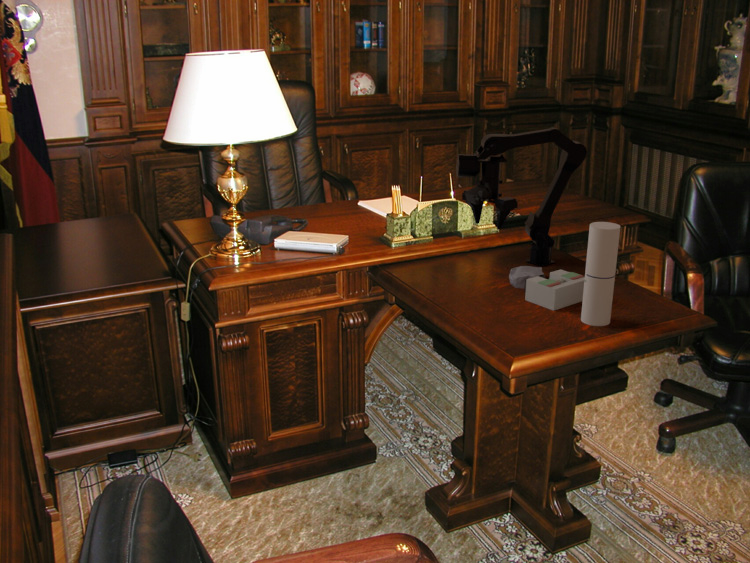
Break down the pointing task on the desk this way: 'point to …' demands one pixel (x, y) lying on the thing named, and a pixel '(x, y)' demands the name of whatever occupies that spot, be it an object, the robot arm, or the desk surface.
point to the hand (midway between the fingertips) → (487, 226)
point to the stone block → (523, 275)
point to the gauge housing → (555, 290)
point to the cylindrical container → (600, 273)
